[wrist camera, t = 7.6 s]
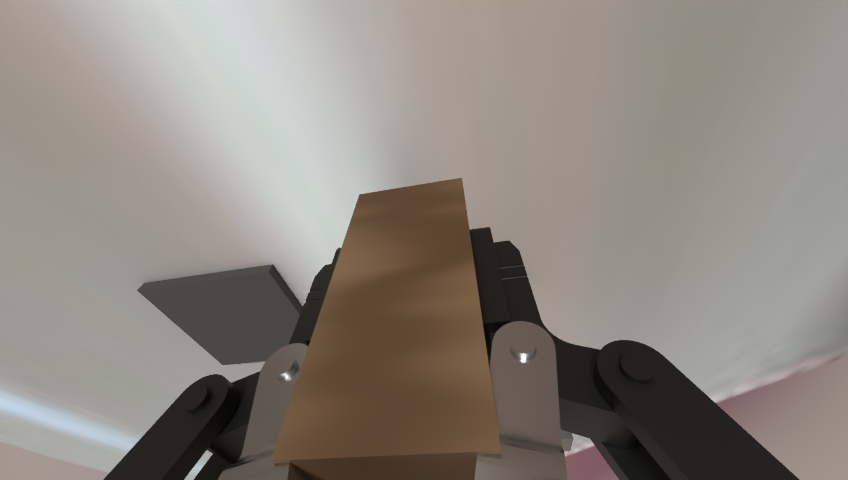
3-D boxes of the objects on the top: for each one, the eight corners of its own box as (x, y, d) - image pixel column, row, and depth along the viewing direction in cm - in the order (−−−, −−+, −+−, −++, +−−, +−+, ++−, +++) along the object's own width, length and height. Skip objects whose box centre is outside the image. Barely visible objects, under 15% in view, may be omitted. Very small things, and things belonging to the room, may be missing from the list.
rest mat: (272, 264, 19) (268, 271, 19) (330, 347, 25) (328, 354, 24) (143, 283, 20) (137, 290, 20) (226, 358, 26) (222, 365, 25)
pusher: (461, 177, 11) (501, 450, 5) (472, 256, 13) (508, 510, 7) (359, 194, 11) (270, 460, 5) (386, 267, 13) (347, 512, 7)
